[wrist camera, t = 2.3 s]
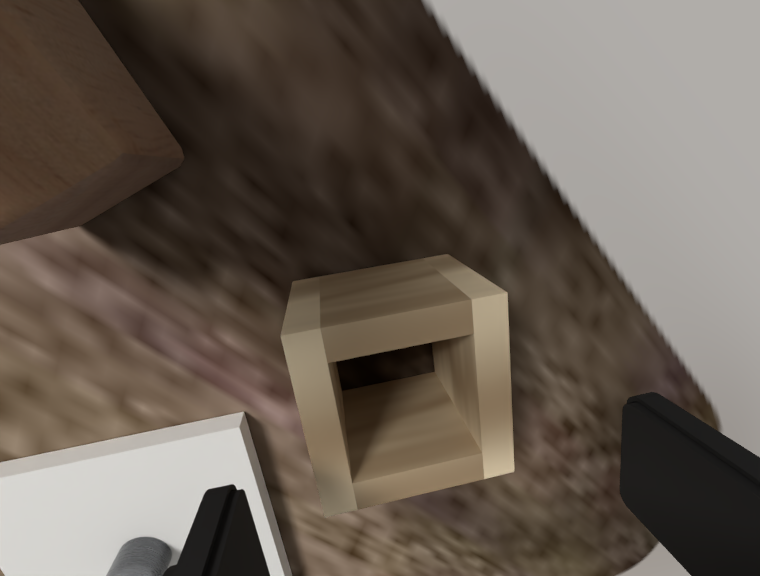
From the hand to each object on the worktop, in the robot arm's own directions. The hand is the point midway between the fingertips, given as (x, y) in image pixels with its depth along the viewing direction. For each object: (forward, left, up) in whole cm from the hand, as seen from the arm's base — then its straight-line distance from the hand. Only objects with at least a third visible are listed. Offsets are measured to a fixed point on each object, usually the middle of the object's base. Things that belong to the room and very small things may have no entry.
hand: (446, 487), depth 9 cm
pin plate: (+6, -11, -7) cm, 15 cm away
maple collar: (-1, 0, -7) cm, 7 cm away
